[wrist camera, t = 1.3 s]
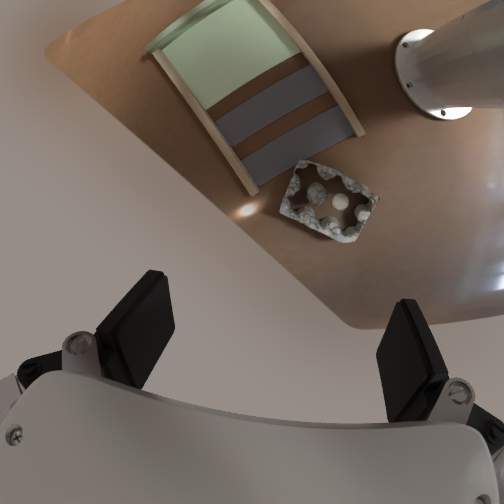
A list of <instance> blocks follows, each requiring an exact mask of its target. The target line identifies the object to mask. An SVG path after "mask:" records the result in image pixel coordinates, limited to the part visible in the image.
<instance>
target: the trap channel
mask: <svg viewBox="0 0 504 504" xmlns="http://www.w3.org/2000/svg"><path fill="white" fill-rule="evenodd" d="M231 1H233V0H205V1H203V2H202V3H200V4H199V5H197V6H196V7H194V8H193V9H192V10H190V11H189V12H187V13H186V14H184V15H183V16H182V17H180V18H179V19H178V20H176V21H175V22H174V23H172V24H171V25H170V26H169V27H167V28H166V29H165V30H163V31H162V32H161V33H160V34H159V35H157V36H156V37H155V38H154V39H153V40H151V41H150V42H149V43H148V44H147V45H146V46H145V47H144V48H145V50H146V51H147V52H149V53H152V54H153V55H154V57H155V58H156V59H157V61H158V62H159V64H160V65H161V66H162V68H163V69H164V70H165V72H166V73H167V75H168V76H169V77H170V79H171V80H172V81H173V83H174V84H175V86H176V87H177V88H178V90H179V91H180V93H181V94H182V95H183V97H184V98H185V100H186V101H187V102H188V104H189V105H190V107H191V108H192V110H193V111H194V112H195V114H196V115H197V117H198V118H199V120H200V121H201V122H202V124H203V125H204V127H205V128H206V130H207V131H208V133H209V134H210V136H211V137H212V138H213V140H214V141H215V143H216V144H217V146H218V147H219V149H220V150H221V152H222V153H223V155H224V156H225V158H226V159H227V161H228V162H229V164H230V165H231V167H232V168H233V170H234V171H235V173H236V174H237V176H238V177H239V179H240V180H241V182H242V183H243V185H244V186H245V188H246V189H247V191H248V192H249V194H250V195H251V197H252V196H254V195H255V194H257V193H259V191H260V190H259V189H258V187H257V186H256V184H255V183H254V181H253V179H252V178H251V176H250V175H249V173H248V172H247V170H246V169H245V167H244V166H243V164H242V163H241V161H240V160H239V158H238V157H237V155H236V154H235V152H234V151H233V149H232V148H231V146H230V145H229V143H228V142H227V140H226V139H225V137H224V136H223V135H222V133H221V132H220V130H219V129H218V127H217V126H216V124H215V123H214V121H213V120H212V119H211V117H210V116H209V114H208V113H207V111H206V110H205V109H204V107H203V106H202V104H201V103H200V102H199V100H198V99H197V97H196V96H195V95H194V93H193V92H192V90H191V89H190V88H189V86H188V85H187V83H186V82H185V81H184V79H183V78H182V77H181V75H180V74H179V73H178V71H177V70H176V69H175V67H174V66H173V64H172V63H171V62H170V60H169V59H168V58H167V56H166V55H165V54H164V53H163V51H162V50H163V49H164V48H165V47H166V46H168V45H169V44H170V43H171V42H173V41H174V40H175V39H176V38H178V37H179V36H180V35H182V34H183V33H184V32H186V31H187V30H188V29H190V28H191V27H193V26H194V25H195V24H197V23H198V22H200V21H201V20H203V19H204V18H206V17H207V16H209V15H210V14H212V13H213V12H215V11H216V10H218V9H220V8H221V7H223V6H225V5H226V4H228V3H230V2H231ZM257 1H258V2H259V3H260V4H261V5H262V6H263V7H264V8H265V9H266V10H267V11H268V13H269V14H270V15H271V16H272V17H273V18H274V19H275V20H276V22H277V23H278V24H279V25H280V26H281V27H282V28H283V30H284V31H285V32H286V33H287V34H288V36H289V37H290V38H291V39H292V41H293V42H294V43H295V44H296V46H297V47H298V48H299V49H300V51H301V52H302V53H303V55H304V56H305V57H306V59H307V60H308V61H309V63H310V64H311V65H312V67H313V68H314V70H315V71H316V72H317V74H318V75H319V77H320V78H321V80H322V81H323V83H324V84H325V86H326V87H327V88H328V90H329V92H330V93H331V95H332V96H333V98H334V99H335V101H336V102H337V104H338V106H339V107H340V109H341V110H342V112H343V114H344V115H345V117H346V119H347V120H348V122H349V124H350V126H351V127H352V129H353V131H354V133H355V134H356V136H357V137H358V138H359V137H361V136H363V135H365V134H366V133H365V131H364V129H363V128H362V126H361V124H360V122H359V121H358V119H357V117H356V115H355V114H354V112H353V110H352V109H351V107H350V105H349V104H348V102H347V100H346V99H345V97H344V96H343V94H342V93H341V91H340V89H339V88H338V86H337V85H336V83H335V82H334V80H333V79H332V77H331V76H330V75H329V73H328V72H327V70H326V69H325V67H324V66H323V65H322V63H321V62H320V60H319V59H318V58H317V56H316V55H315V54H314V52H313V51H312V50H311V48H310V47H309V46H308V45H307V43H306V42H305V41H304V39H303V38H302V37H301V36H300V35H299V33H298V32H297V31H296V30H295V28H294V27H293V26H292V25H291V24H290V23H289V21H288V20H287V19H286V18H285V17H284V16H283V15H282V14H281V12H280V11H279V10H278V9H277V8H276V7H275V6H274V5H273V4H272V3H271V2H270V1H269V0H257Z"/></svg>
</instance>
